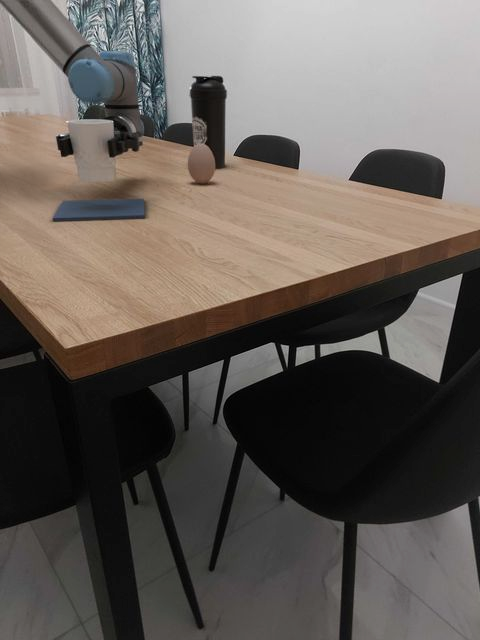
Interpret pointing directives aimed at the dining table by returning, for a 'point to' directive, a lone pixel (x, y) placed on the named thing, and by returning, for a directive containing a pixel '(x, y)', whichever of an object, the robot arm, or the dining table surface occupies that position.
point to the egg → (201, 163)
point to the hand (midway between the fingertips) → (86, 148)
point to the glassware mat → (100, 209)
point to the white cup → (92, 149)
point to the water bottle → (209, 115)
